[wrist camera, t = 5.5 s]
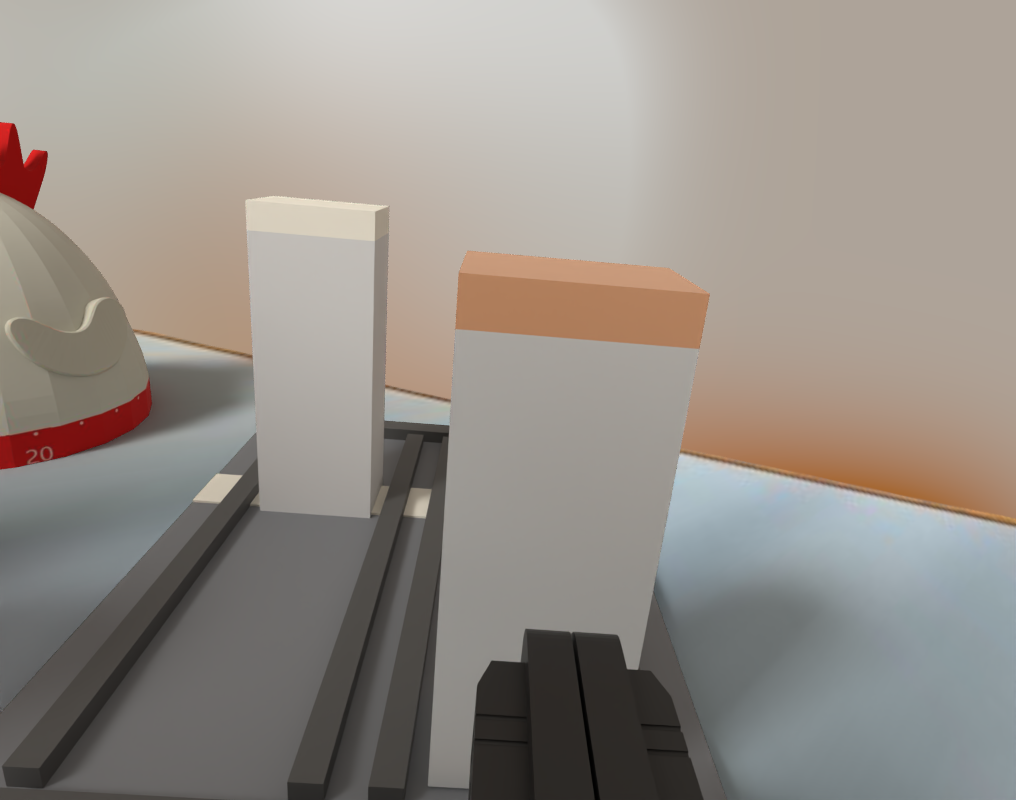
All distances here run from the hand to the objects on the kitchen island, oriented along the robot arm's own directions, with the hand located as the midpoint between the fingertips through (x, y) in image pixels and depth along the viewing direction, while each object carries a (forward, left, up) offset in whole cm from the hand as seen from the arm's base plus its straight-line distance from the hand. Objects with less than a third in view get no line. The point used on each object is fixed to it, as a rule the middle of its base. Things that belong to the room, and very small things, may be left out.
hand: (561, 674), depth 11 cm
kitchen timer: (-27, +24, -8) cm, 37 cm away
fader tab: (0, +4, -6) cm, 8 cm away
